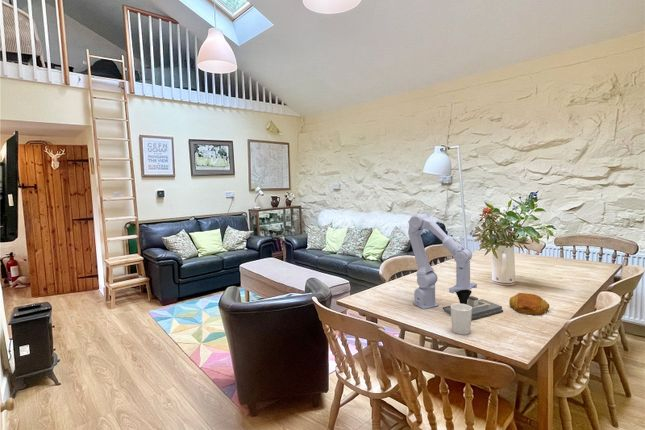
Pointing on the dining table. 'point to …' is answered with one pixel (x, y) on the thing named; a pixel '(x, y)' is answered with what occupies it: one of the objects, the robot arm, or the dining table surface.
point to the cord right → (486, 315)
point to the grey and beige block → (472, 301)
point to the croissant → (528, 304)
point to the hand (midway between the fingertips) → (463, 305)
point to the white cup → (461, 318)
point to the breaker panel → (480, 308)
